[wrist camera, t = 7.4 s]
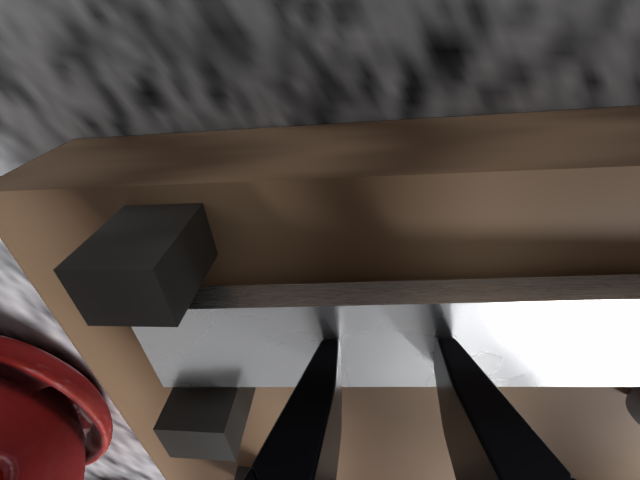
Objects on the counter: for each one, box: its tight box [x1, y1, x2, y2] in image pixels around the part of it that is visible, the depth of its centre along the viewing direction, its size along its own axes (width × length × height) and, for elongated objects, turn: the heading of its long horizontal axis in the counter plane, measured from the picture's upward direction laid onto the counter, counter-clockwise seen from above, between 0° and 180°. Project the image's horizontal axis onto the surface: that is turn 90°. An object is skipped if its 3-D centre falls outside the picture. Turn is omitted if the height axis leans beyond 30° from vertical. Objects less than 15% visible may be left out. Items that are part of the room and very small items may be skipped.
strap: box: [132, 274, 640, 387], centre depth 9 cm, size 14×3×1 cm, turn 95°
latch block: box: [0, 106, 640, 480], centre depth 14 cm, size 20×21×6 cm
